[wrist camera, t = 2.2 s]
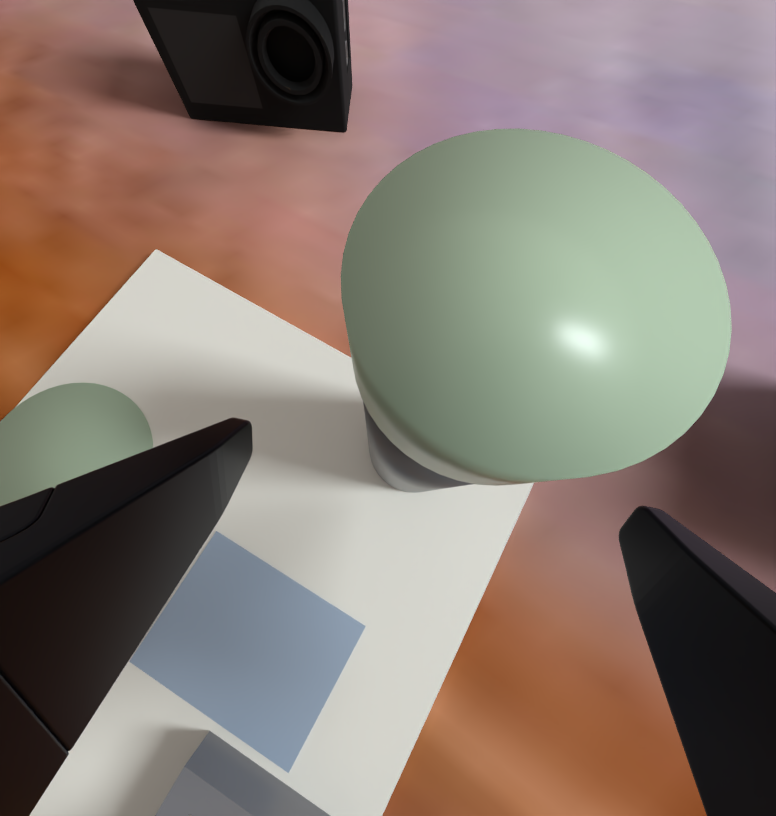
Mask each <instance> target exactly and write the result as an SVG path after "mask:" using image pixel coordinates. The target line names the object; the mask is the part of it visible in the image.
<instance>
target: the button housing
mask: <svg viewBox="0 0 776 816" xmlns="http://www.w3.org/2000/svg"><path fill="white" fill-rule="evenodd" d="M189 815H192V816H330V815H329V814H327V813H326V812H325V811H323V810H322V809H320V808H319V807H317V806H316V805H315V804H313V803H312V802H310V801H309V800H307V799H306V798H305V797H303V796H302V795H300V794H299V793H298V792H296V791H295V790H293V789H292V788H290V787H289V786H288V785H286V784H285V783H283V782H282V781H281V780H279V779H278V778H276V777H275V776H273V775H272V774H271V773H269V772H268V771H266V770H265V769H264V768H262V767H261V766H259V765H258V764H256V763H255V762H254V761H252V760H251V759H249V758H248V757H246V756H245V755H244V754H242V753H241V752H239V751H238V750H237V749H235V748H234V747H232V746H231V745H229V744H228V743H227V742H225V741H224V740H222V739H221V738H220V737H218V736H217V735H215V734H214V733H212V732H211V731H209V732H208V734H207V735H206V736H205V738H204V739H203V741H202V742H201V743H200V745H199V746H198V748H197V749H196V750H195V752H194V753H193V755H192V756H191V757H190V759H189V760H188V762H187V763H186V764H185V766H184V767H183V769H182V771H181V772H180V774H179V776H178V777H177V779H176V781H175V783H174V784H173V786H172V788H171V789H170V791H169V793H168V794H167V796H166V798H165V799H164V801H163V803H162V805H161V806H160V808H159V810H158V811H157V813H156V815H155V816H189Z"/></svg>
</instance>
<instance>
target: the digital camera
mask: <svg viewBox="0 0 776 816" xmlns="http://www.w3.org/2000/svg"><path fill="white" fill-rule="evenodd" d="M133 1H134V3H135V5H136V7H137V9H138V11H139V13H140V15H141V17H142V19H143V21H144V24H145V26H146V28H147V30H148V32H149V34H150V36H151V38H152V40H153V42H154V44H155V46H156V48H157V50H158V52H159V54H160V56H161V58H162V60H163V62H164V64H165V67H166V69H167V71H168V73H169V75H170V77H171V79H172V81H173V83H174V85H175V87H176V89H177V91H178V93H179V95H180V97H181V99H182V101H183V103H184V105H185V107H186V109H187V112H188V114H189V116H190V117H191V118H194V119H204V120H214V121H225V122H236V123H246V124H257V125H268V126H279V127H289V128H301V129H314V130H326V131H338V132H346V130H347V122H348V114H349V106H350V99H351V91H352V71H351V51H350V31H349V12H348V0H133Z"/></svg>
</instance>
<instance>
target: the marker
mask: <svg viewBox="0 0 776 816" xmlns="http://www.w3.org/2000/svg"><path fill="white" fill-rule="evenodd" d="M341 293H342V304H343V310H344V316H345V322H346V328H347V334H348V340H349V345H350V351H351V357H352V363H353V369H354V374H355V380H356V383H357V386H358V389H359V392H360V395H361V398H362V400H363V404H364V412H365V420H366V428H367V436H368V445H369V453H370V458H371V461H372V464H373V467H374V469H375V470H376V472H377V473H378V475H379V476H380V477H381V478H382V479H383V480H384V481H385V482H386V483H387V484H389V485H390V486H392V487H394V488H396V489H398V490H401V491H405V492H412V493H417V492H425V491H432V490H438V489H445V488H451V487H458V486H465V485H471V484H477V485H491V486H501V485H515V484H525V483H534V482H544V481H553V480H563V479H573V478H582V477H591V476H595V475H600V474H605V473H610V472H614V471H618V470H621V469H623V468H626V467H629V466H631V465H634V464H637V463H640V462H642V461H644V460H646V459H648V458H649V457H651V456H653V455H655V454H657V453H658V452H660V451H662V450H664V449H665V448H667V447H668V446H669V445H670V444H672V443H673V442H674V441H676V440H677V439H678V438H679V437H681V436H682V435H683V434H684V433H685V432H686V431H687V430H688V429H689V428H690V427H691V426H692V425H693V424H694V423H695V421H696V420H697V419H698V418H699V417H700V416H701V415H702V413H703V412H704V410H705V409H706V407H707V406H708V404H709V403H710V401H711V399H712V398H713V396H714V395H715V392H716V390H717V388H718V385H719V383H720V381H721V379H722V376H723V374H724V370H725V366H726V362H727V359H728V355H729V349H730V339H731V311H730V302H729V297H728V292H727V287H726V283H725V280H724V277H723V274H722V271H721V268H720V265H719V262H718V260H717V258H716V256H715V254H714V252H713V250H712V248H711V246H710V244H709V242H708V240H707V238H706V237H705V235H704V234H703V232H702V231H701V229H700V228H699V226H698V224H697V223H696V221H695V220H694V219H693V218H692V216H691V215H690V214H689V213H688V212H687V210H686V209H685V208H684V207H683V205H682V204H681V203H680V202H679V201H678V200H677V199H676V198H675V197H674V196H673V195H672V194H671V193H670V192H669V191H668V190H667V189H666V188H665V187H663V186H662V185H661V184H660V183H658V182H657V181H656V180H655V179H653V178H652V177H651V176H650V175H648V174H647V173H646V172H644V171H643V170H641V169H640V168H638V167H637V166H635V165H633V164H632V163H630V162H629V161H627V160H625V159H624V158H622V157H620V156H618V155H616V154H614V153H612V152H610V151H608V150H606V149H604V148H601V147H599V146H596V145H594V144H591V143H588V142H586V141H583V140H579V139H576V138H573V137H569V136H566V135H562V134H556V133H551V132H546V131H539V130H528V129H494V130H486V131H477V132H472V133H468V134H464V135H459V136H455V137H452V138H449V139H447V140H444V141H441V142H438V143H435V144H433V145H431V146H429V147H427V148H425V149H423V150H421V151H419V152H417V153H415V154H414V155H412V156H411V157H409V158H408V159H406V160H405V161H403V162H402V163H400V164H399V165H398V166H396V167H395V168H394V169H393V170H392V171H391V172H390V173H389V174H387V175H386V176H385V177H384V178H383V179H382V180H381V181H380V182H379V184H378V185H377V186H376V187H375V188H374V189H373V191H372V192H371V193H370V194H369V195H368V197H367V199H366V200H365V202H364V203H363V205H362V207H361V208H360V210H359V211H358V213H357V215H356V218H355V220H354V222H353V224H352V227H351V229H350V231H349V234H348V238H347V242H346V245H345V249H344V253H343V261H342V270H341Z"/></svg>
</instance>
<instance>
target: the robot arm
mask: <svg viewBox="0 0 776 816" xmlns="http://www.w3.org/2000/svg"><path fill="white" fill-rule="evenodd" d="M252 451H253V442H252V424H251V422H250V421H249V420H245V419H240V418H235V417H232V418H229V419H226V420H224V421H221V422H218V423H216V424H213V425H211V426H208V427H205V428H203V429H200V430H198V431H195V432H193V433H190V434H187V435H185V436H182V437H180V438H177V439H174V440H172V441H169V442H167V443H164V444H161V445H159V446H156V447H154V448H151V449H149V450H146V451H143V452H141V453H138V454H136V455H133V456H130V457H128V458H125V459H123V460H120V461H117V462H115V463H112V464H110V465H107V466H104V467H102V468H99V469H97V470H94V471H91V472H89V473H86V474H84V475H81V476H78V477H76V478H73V479H71V480H68V481H66V482H63V483H60V484H58V485H56V487H55V488H54V487H50V488H47V489H45V490H42V491H39V492H37V493H34V494H32V495H29V496H27V497H24V498H21V499H18V500H16V501H13V502H10V503H8V504H5V505H2V506H0V816H29V815H30V814H31V812H32V811H33V809H34V808H35V806H36V805H37V803H38V801H39V800H40V798H41V797H42V795H43V794H44V792H45V791H46V789H47V787H48V786H49V784H50V783H51V781H52V780H53V778H54V777H55V775H56V773H57V772H58V770H59V769H60V767H61V766H62V764H63V763H64V761H65V759H66V758H67V756H68V755H69V752H68V751H70V750H71V749H72V748H73V746H74V745H75V743H76V742H77V740H78V739H79V737H80V736H81V734H82V733H83V731H84V729H85V728H86V726H87V725H88V723H89V722H90V720H91V719H92V717H93V715H94V714H95V712H96V711H97V709H98V708H99V706H100V705H101V703H102V701H103V700H104V698H105V697H106V695H107V694H108V692H109V691H110V689H111V687H112V686H113V684H114V683H115V681H116V680H117V678H118V677H119V675H120V673H121V672H122V670H123V669H124V667H125V666H126V664H127V663H128V661H129V659H130V658H131V656H132V655H133V653H134V652H135V650H136V649H137V647H138V646H139V644H140V642H141V641H142V639H143V638H144V636H145V635H146V633H147V632H148V630H149V628H150V627H151V625H152V624H153V622H154V621H155V619H156V618H157V616H158V614H159V613H160V611H161V610H162V608H163V607H164V605H165V604H166V602H167V600H168V599H169V597H170V596H171V594H172V593H173V591H174V590H175V588H176V586H177V585H178V583H179V582H180V580H181V579H182V577H183V576H184V574H185V573H186V571H187V569H188V568H189V566H190V565H191V563H192V562H193V560H194V559H195V557H196V555H197V554H198V552H199V551H200V549H201V548H202V546H203V545H204V543H205V541H206V540H207V538H208V537H209V535H210V534H211V532H212V531H213V529H214V527H215V526H216V524H217V523H218V521H219V519H220V518H221V516H222V514H223V513H224V511H225V509H226V507H227V505H228V503H229V501H230V499H231V497H232V495H233V493H234V491H235V489H236V487H237V485H238V483H239V481H240V479H241V477H242V475H243V473H244V471H245V469H246V467H247V465H248V463H249V461H250V458H251V456H252ZM619 542H620V546H621V550H622V555H623V559H624V563H625V567H626V571H627V576H628V580H629V584H630V588H631V592H632V596H633V600H634V604H635V607H636V611H637V614H638V617H639V620H640V623H641V626H642V629H643V631H644V634H645V637H646V640H647V643H648V646H649V649H650V652H651V655H652V658H653V660H654V663H655V666H656V669H657V672H658V675H659V678H660V681H661V684H662V687H663V690H664V692H665V695H666V698H667V701H668V704H669V707H670V710H671V713H672V716H673V719H674V721H675V724H676V727H677V730H678V733H679V736H680V739H681V742H682V745H683V748H684V751H685V753H686V756H687V759H688V762H689V765H690V768H691V771H692V774H693V777H694V780H695V783H696V785H697V788H698V791H699V794H700V797H701V800H702V803H703V806H704V809H705V812H706V814H707V816H776V593H775V592H774V591H772V590H771V589H770V588H768V587H767V586H765V585H764V584H763V583H761V582H760V581H759V580H757V579H756V578H754V577H753V576H752V575H750V574H749V573H748V572H746V571H745V570H743V569H742V568H741V567H739V566H738V565H737V564H735V563H734V562H732V561H731V560H730V559H728V558H727V557H726V556H724V555H723V554H722V553H720V552H719V551H717V550H716V549H715V548H713V547H712V546H711V545H709V544H708V543H706V542H705V541H704V540H702V539H701V538H700V537H698V536H697V535H695V534H694V533H693V532H691V531H690V530H689V529H687V528H686V527H684V526H683V525H682V524H680V523H679V522H678V521H676V520H675V519H673V518H672V517H671V516H669V515H668V514H667V513H665V512H664V511H662V510H660V509H657V508H652V507H647V506H639V507H638V508H636V509H635V510H634V512H633V513H632V514H631V516H630V517H629V518H628V519H627V521H626V522H625V523H624V525H623V526H622V527H621V529H620V532H619Z"/></svg>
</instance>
